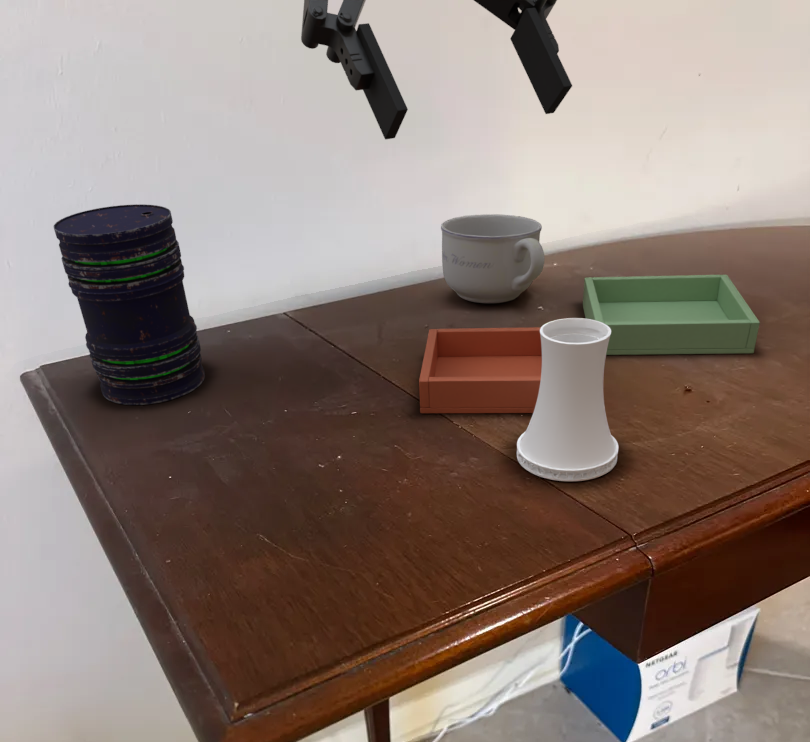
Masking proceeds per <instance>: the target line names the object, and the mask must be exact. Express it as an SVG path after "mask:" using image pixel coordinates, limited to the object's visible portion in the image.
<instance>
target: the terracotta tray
mask: <svg viewBox="0 0 810 742" xmlns="http://www.w3.org/2000/svg"><path fill="white" fill-rule="evenodd" d="M541 327H542V326H541ZM541 327H539V326H538V327H537V326H536V327H535V326H534V327H533V326H532V327H476V328H475V327H474V328H472V327H471V328H470V327H468V328H467V327H465V328H462V327H461V328H429V330H428V334H427V339H426V344H425V350H424V354H423V360H422V364H421V369H420V373H419V379H418V389H419V391H418V392H419V412H420V414H533V412H534V409H535V406H536V402H537V398H538V393H539V388H540V381H541V370H542V348H541V336H540V328H541Z"/></svg>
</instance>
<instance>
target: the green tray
mask: <svg viewBox="0 0 810 742" xmlns="http://www.w3.org/2000/svg"><path fill="white" fill-rule="evenodd" d="M582 309H583V313H584V317H585V318H584V319H591V320H596V321H599V322H602V323H604V324H606V325H607V326H609V327H610V329H611V335H610V339H609V343H608V347H607V352H606V356H619V355H621V356H625V355H626V356H628V355H630V356H631V355H714V354H715V355H718V354H719V355H720V354H721V355H724V354H754V353H755V349H756V342H757V340H758V339H757V338H758V335H759V334H758V333H759V329H760V325H761V322H760V320H759V319H758V318H757V316H756V314H755V312H753V310H752V309H751V307H750V305H749V304H748V303H747V301H746V300H745V299H744V297H743V296H742V294H741V293H740V292H739V290H738V288H737V287H736V286H735V284H734V282H732V280H731V278H730V277H729V275H728V274H691V275H688V274H687V275H681V274H680V275H640V276H639V275H637V276H633V275H632V276H594V277H593V276H591V277H589V276H588V277H584V279H583V293H582Z"/></svg>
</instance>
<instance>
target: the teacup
mask: <svg viewBox="0 0 810 742" xmlns="http://www.w3.org/2000/svg"><path fill="white" fill-rule="evenodd" d="M542 229H543V226H542V224H541V223H540V222H539V221H538V220H536V219H533V218H531V217H530V218H529V217H525V216H522V215H521V216H520V215H510V214H497V213H496V214H494V213H493V214H490V213H489V214H487V213H486V214H471V215H470V214H469V215H463V216H456V217H453V218H449V219H447V220H444V221H442V222H441V225H440V230H441V263H442V264H441V265H442V266H441V267H442V275H443V278H444V281H445V283H446V284H447V286H448V287H449V288H450V289H451V290H453V291H454V292H455V293H456V294H457V296H458V297H460V298H461V299H463V300H465V301H468V302H472V303H478V304H479V303H480V304H500V303H507V302H510V301H513V300H515V299H516V298H518V297H519V296H520V295H521V294H522V293H523V292H525V291H526V290H527V289H528V288H529V287H530V286H531V285H532V283H533V282H534V281H535V280H536V279H537V278H538V277H539V276H540V275H541V273H542V272H543V270H544V266H545V251H544V248H543V246H542V244H541V242H540V240H541V239H540V237H541V231H542Z"/></svg>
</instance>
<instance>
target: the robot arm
mask: <svg viewBox="0 0 810 742" xmlns="http://www.w3.org/2000/svg"><path fill="white" fill-rule="evenodd" d="M366 1H367V0H342V3H341V5H340V8H339V10H338V12H337V14H335V13H332V12H328V8H329V0H303V11H302V22H301V23H302V24H301V33H300V34H301V35H300V41H301V43H302V44H303V46H305V47H306V48H308V49H312V50H313V49H317V48H318V47H319V45H321V46H325V47H327V49H326V52H325V53H326V58H327V59H328V61H330V62H332V63H334V64H340V65H341V67H342V69H343V71H344V73H345V76H346V78H347V81H348V82H349V85H350V86H351V87H352V89H354V90H355V91H363V94H364V95H365V98H366V100H367V103H368V104H369V107H370V109H371V111H372V113H373V115H374V118H375V120H376V122H377V125H378V127H379V129H380V131H381V134H382V135H383V138H384V140H391V139H396V137H397V134H398V132H399V130H400V128H401V126H402V124H403V121H404V119H405V116H406V115H407V112H408V111H409V109H408V107H407V105H406V102H405V100H404V98H403V96H402V93H401V91H400V89H399V87H398V84H397V82H396V80H395V78H394V75H393V74H392V71H391V69H390V66H389V65H388V62H387V60H386V58H385V56H384V54H383V51H382V49H381V47H380V45H379V43H378V41H377V38H376V36H375V34H374V31H373V29H372V27H371V25H370V23H369V22H368V23H359V24H358V21H359V19H360V16H361V14H362V11H363V8H364V6H365V3H366ZM473 1H474V2H475V3H476V4H478V5H479V6H481V7H482V8H483V9H485V10H486V11H488V12H489V13H491V14H492V15H493V16H495V17H496V18H497V19H498V20H500V21H501V22H503V23H504V24H505V25H507V26H509V27H510V28H512V29H513V30H514V31H513V33H512V34H511V36H510V41H511V44H512V45H513V48H514V50H515V52H516V54H517V56H518V58H519V60H520V63H521V65H522V67H523V69H524V71H525V74H526V75H527V78H528V79H529V82H530V84H531V86H532V88H533V90H534V92H535V95H536V96H537V99H538V101H539V103H540V105H541V107H542V109H543V112H544V113H545V115H550V114H554V113H555V112H556V111H557V109H558V108H559V106H560V105H561V103H562V101H563V100H564V99H565V97H566V96H567V94H568V93H569V92H570V90H571V89H572V88H573V84H572V82H571V80H570V78H569V76H568V74H567V71H566V69H565V67H564V66H563V63H562V61H561V58H560V57H559V55H558V53H559V52H560V49H559V48H560V47H559V43H558V42H557V39H556V37H555V35H554V34H553V30H552V29H551V26H550V24H549V22H548V20H547V18H548V17H549V15H550V14H551V12H552V10H553V8H554V6H555V5H556V3H557V1H558V0H473ZM356 26H357V29H356Z"/></svg>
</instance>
